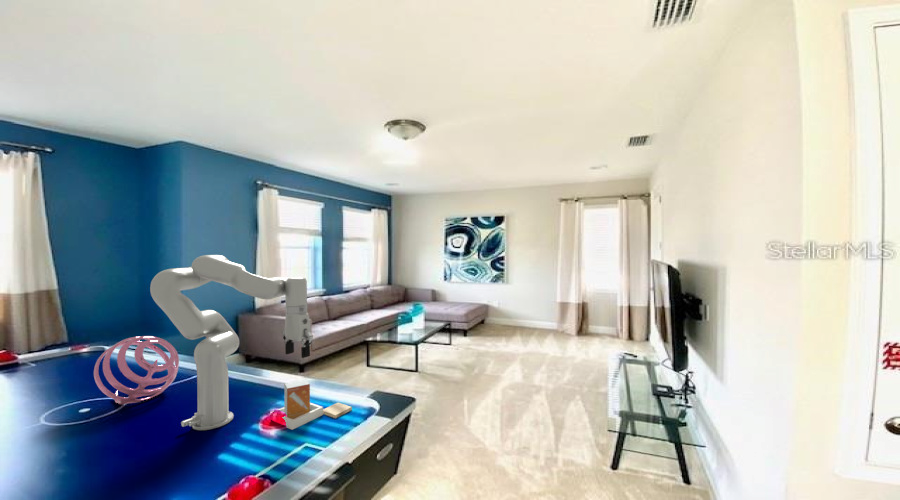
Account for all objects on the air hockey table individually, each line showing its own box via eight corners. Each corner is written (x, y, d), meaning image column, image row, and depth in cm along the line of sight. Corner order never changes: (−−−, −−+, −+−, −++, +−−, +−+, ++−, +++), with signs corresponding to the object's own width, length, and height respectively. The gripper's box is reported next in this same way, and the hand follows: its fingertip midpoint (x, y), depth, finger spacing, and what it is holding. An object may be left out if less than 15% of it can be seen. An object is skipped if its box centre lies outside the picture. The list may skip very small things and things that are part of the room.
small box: (287, 424, 126) (286, 388, 126) (284, 417, 131) (284, 383, 132) (310, 418, 131) (310, 383, 131) (307, 411, 136) (306, 378, 136)
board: (335, 418, 130) (335, 415, 130) (321, 413, 134) (321, 410, 134) (351, 409, 137) (351, 406, 137) (338, 405, 141) (337, 402, 141)
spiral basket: (74, 357, 146) (115, 322, 141) (150, 354, 171) (187, 325, 166) (76, 422, 134) (121, 387, 130) (158, 410, 160) (197, 380, 155)
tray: (292, 429, 122) (292, 421, 122) (270, 420, 129) (270, 412, 129) (323, 414, 133) (322, 406, 133) (301, 407, 140) (301, 399, 140)
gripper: (319, 310, 130) (320, 355, 130) (291, 307, 139) (292, 349, 139) (302, 313, 123) (303, 361, 123) (273, 309, 133) (274, 354, 132)
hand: (297, 355), depth 131 cm, fingers open, 9 cm apart
